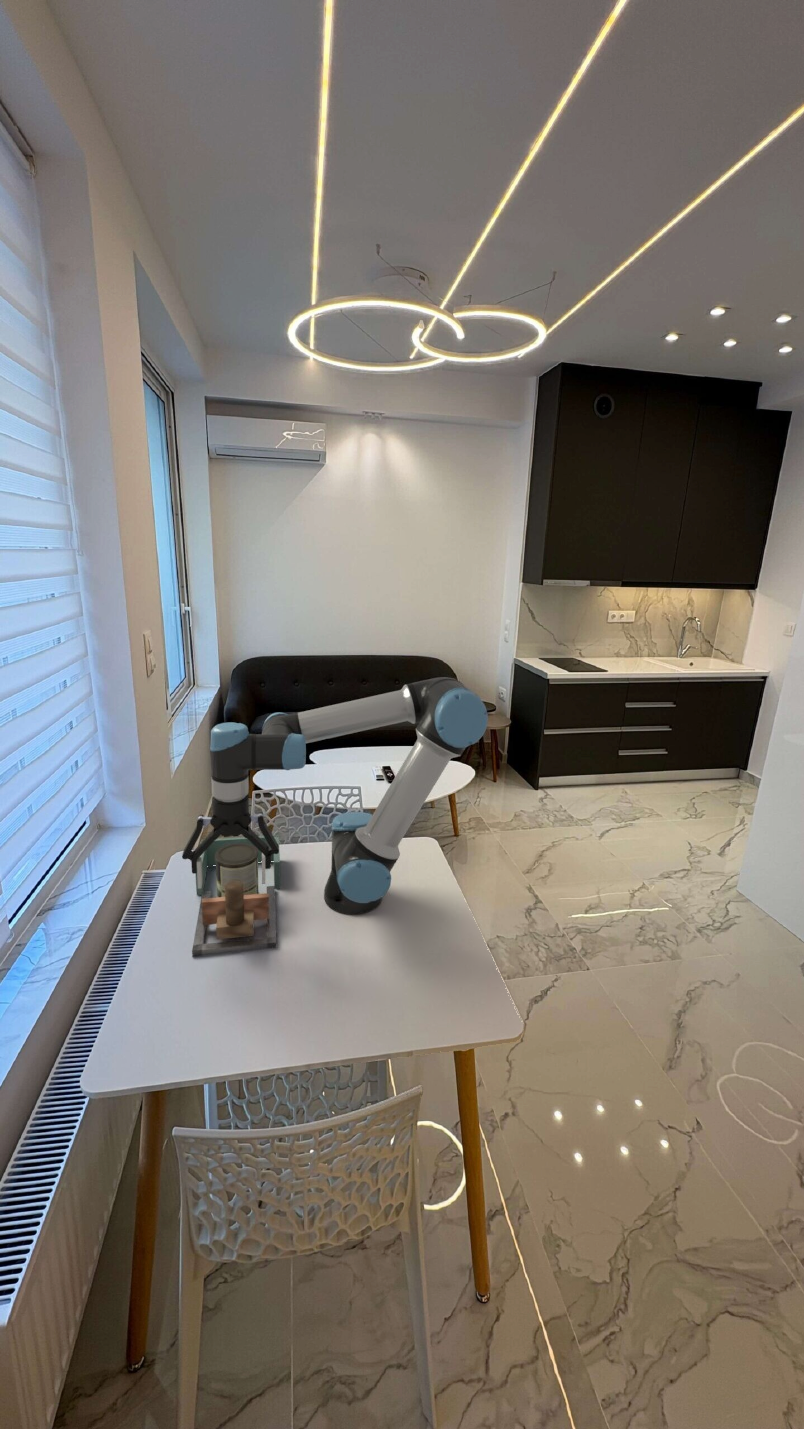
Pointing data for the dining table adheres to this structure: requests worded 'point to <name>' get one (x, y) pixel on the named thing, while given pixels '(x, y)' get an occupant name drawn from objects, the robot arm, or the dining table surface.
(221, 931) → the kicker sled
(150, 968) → the dining table surface
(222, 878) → the coffee can
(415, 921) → the dining table surface
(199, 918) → the track
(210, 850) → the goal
